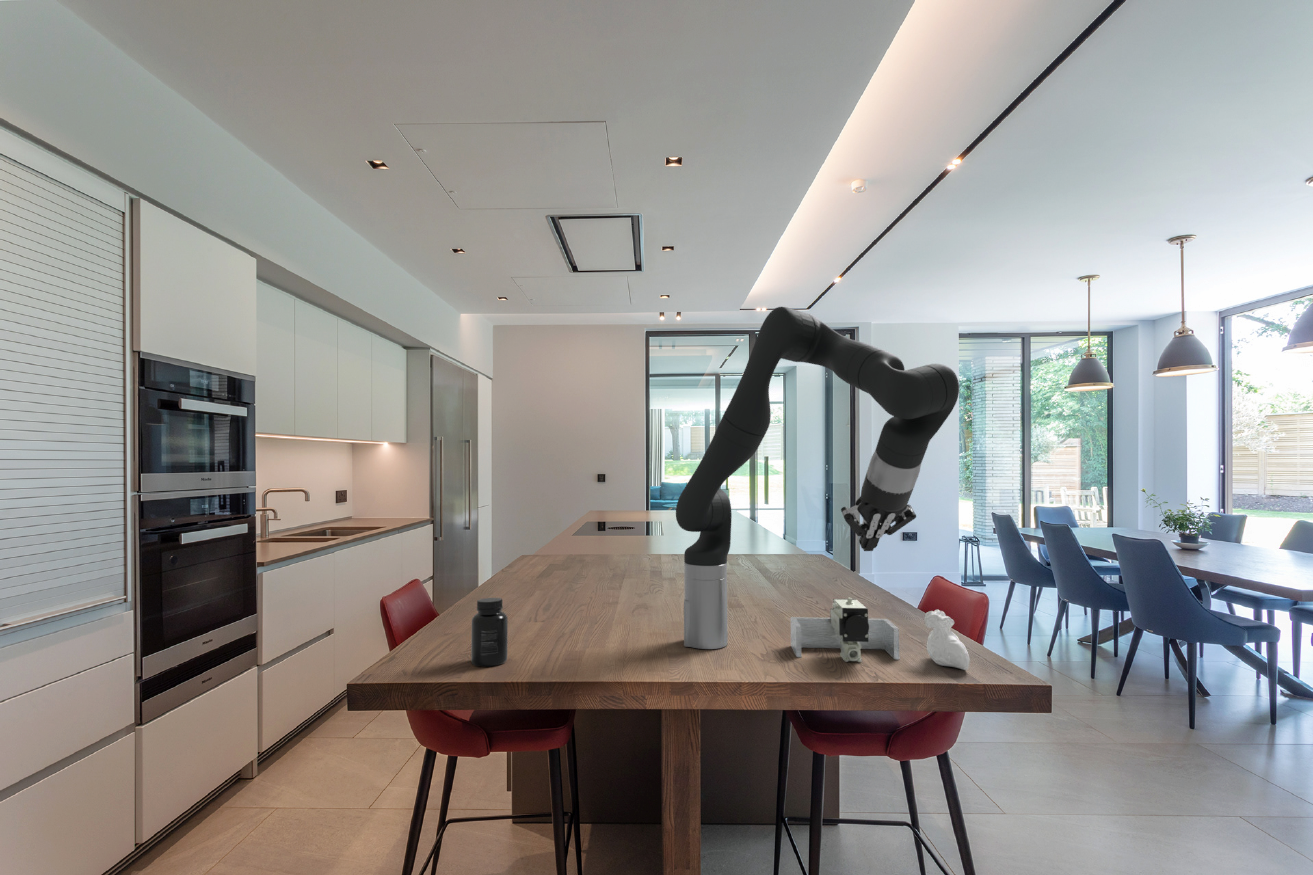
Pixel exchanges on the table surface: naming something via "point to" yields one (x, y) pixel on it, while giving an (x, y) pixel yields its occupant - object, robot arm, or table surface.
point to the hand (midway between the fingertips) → (866, 547)
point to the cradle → (824, 636)
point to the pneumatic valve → (850, 626)
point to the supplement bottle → (489, 633)
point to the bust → (945, 641)
